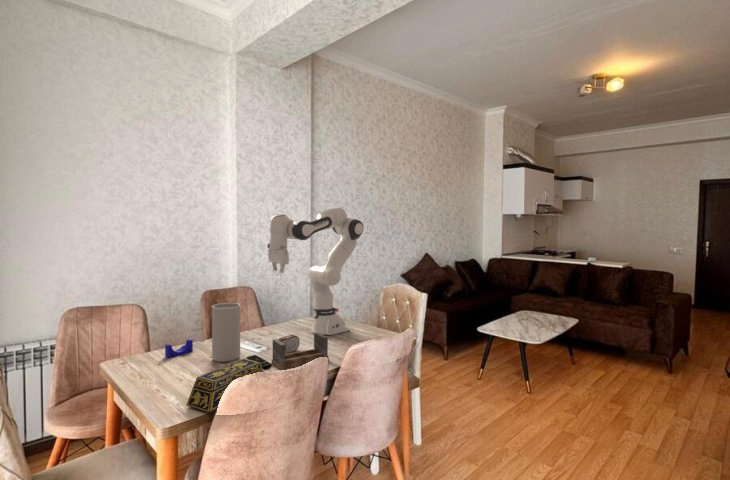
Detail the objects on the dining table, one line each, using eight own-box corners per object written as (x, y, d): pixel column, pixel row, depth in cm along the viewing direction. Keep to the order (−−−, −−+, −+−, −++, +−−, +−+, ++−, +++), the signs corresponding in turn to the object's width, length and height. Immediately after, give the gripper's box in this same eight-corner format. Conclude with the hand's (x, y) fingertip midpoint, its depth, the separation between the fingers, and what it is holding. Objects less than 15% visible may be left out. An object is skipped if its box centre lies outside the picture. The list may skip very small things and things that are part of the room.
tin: (296, 348, 199) (296, 332, 198) (300, 350, 197) (300, 333, 197) (273, 356, 186) (273, 339, 186) (278, 358, 185) (278, 340, 184)
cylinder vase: (231, 363, 177) (231, 308, 176) (206, 361, 179) (206, 307, 178) (245, 354, 189) (245, 303, 188) (221, 352, 191) (221, 302, 190)
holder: (318, 354, 190) (318, 332, 190) (328, 360, 182) (328, 337, 182) (271, 363, 177) (271, 339, 176) (279, 370, 168) (280, 345, 168)
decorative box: (186, 405, 136) (186, 380, 135) (248, 376, 162) (248, 355, 162) (207, 412, 131) (207, 386, 130) (268, 381, 157) (268, 359, 157)
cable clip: (187, 350, 195) (187, 338, 195) (192, 351, 193) (192, 339, 193) (163, 356, 186) (163, 343, 186) (168, 358, 183) (168, 345, 183)
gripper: (292, 246, 197) (291, 273, 197) (277, 244, 214) (277, 269, 214) (280, 246, 193) (279, 274, 194) (266, 244, 210) (265, 270, 211)
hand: (278, 271), depth 204 cm, fingers open, 8 cm apart
